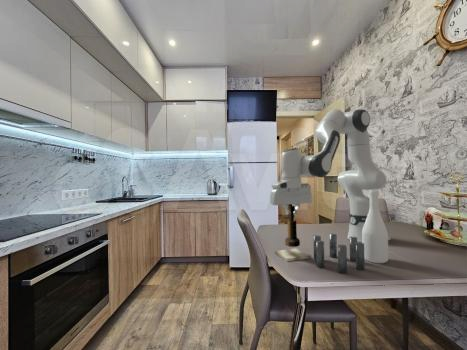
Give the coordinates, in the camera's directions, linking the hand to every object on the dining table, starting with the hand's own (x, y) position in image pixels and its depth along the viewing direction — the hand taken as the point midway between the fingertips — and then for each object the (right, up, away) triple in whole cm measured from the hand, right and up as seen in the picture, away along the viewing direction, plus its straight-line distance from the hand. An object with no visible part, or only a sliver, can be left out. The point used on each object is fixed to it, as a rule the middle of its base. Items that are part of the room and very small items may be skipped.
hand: (291, 213), depth 108 cm
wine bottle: (+34, -19, -7) cm, 39 cm away
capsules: (+16, -19, -11) cm, 27 cm away
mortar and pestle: (0, -14, 0) cm, 14 cm away
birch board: (0, -19, 0) cm, 19 cm away
